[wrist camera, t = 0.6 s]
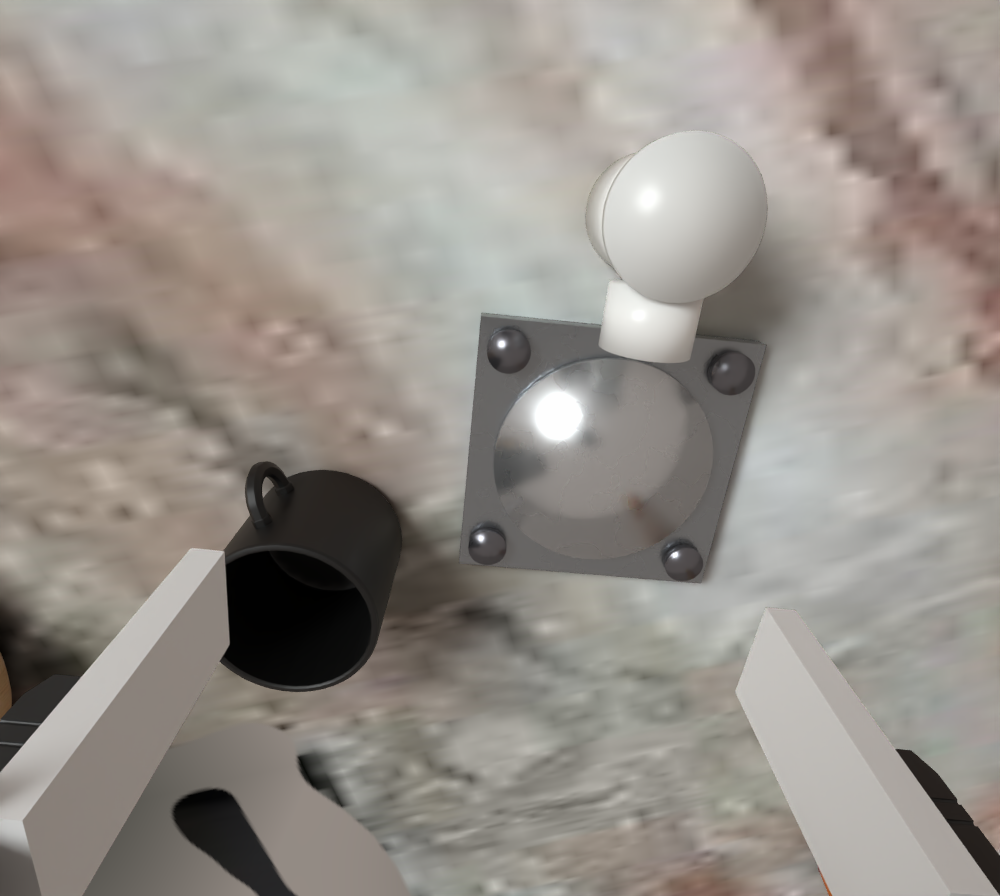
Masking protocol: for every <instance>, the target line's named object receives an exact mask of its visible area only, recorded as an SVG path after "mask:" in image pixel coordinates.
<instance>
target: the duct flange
mask: <svg viewBox="0 0 1000 896" xmlns="http://www.w3.org/2000/svg"><path fill="white" fill-rule="evenodd" d="M601 326H602V325H597V324H587V323H578V322H568V321H558V320H548V319H538V318H529V317H519V316H509V315H499V314H489V313H481V323H480V335H479V346H478V357H477V368H476V379H475V390H474V401H473V412H472V423H471V435H470V446H469V457H468V468H467V479H466V490H465V501H464V512H463V523H462V535H461V546H460V557H459V563H462V564H474V565H486V566H498V567H510V568H522V569H534V570H546V571H558V572H570V573H582V574H594V575H606V576H618V577H630V578H642V579H654V580H666V581H678V582H690V583H701V582H702V578H703V574H704V571H705V567H706V563H707V560H708V556H709V552H710V549H711V545H712V541H713V538H714V534H715V531H716V527H717V523H718V520H719V516H720V512H721V509H722V505H723V501H724V498H725V494H726V491H727V487H728V483H729V480H730V476H731V472H732V469H733V465H734V461H735V458H736V454H737V450H738V447H739V443H740V440H741V436H742V432H743V429H744V425H745V421H746V418H747V414H748V410H749V407H750V403H751V399H752V396H753V392H754V389H755V385H756V381H757V378H758V374H759V370H760V367H761V363H762V359H763V356H764V352H765V348H766V345H765V344H764V343H762V342H760V341H754V340H744V339H734V338H725V337H715V336H705V335H695V340H694V344H693V349H692V353H691V357H690V360H688V361H686V362H681V363H659V362H649V361H642V360H636V359H631V358H627V357H623V356H619V355H616V354H613V353H610V352H607V351H605V350H603V349H602V348H600V347H599V345H598V344H599V338H600V332H601Z"/></svg>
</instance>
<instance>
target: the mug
mask: <svg viewBox="0 0 1000 896" xmlns="http://www.w3.org/2000/svg"><path fill="white" fill-rule="evenodd" d="M265 477H268V478H269V479H270V480H271V481H272V483H273V484H274V487H273V488H272V489H271V490H270V491H269V492H268V493H267V494H266V495H265V497H264V498H263V497H262V484H263V481H264V478H265ZM245 496H246V503H247V507H248V510H249V513H250V516H249V518H248V519H247V520H246V522H245V523H244V524H243V525H242V527H241V528H240V529H239V531H238V532H237V533H236V535H235V536H234V537H233V539H232V540H231V541H230V543H229V544H228V545H227V547H226V548H225V549H224V552H225V570H226V587H227V605H228V623H229V641H230V645H229V646H228V648H227V650H226V651H225V653H224V655H223V656H222V658H221V660H220V662H221V663H222V664H223V665H224V666H226V667H227V668H228V669H230V670H231V671H232V672H234V673H235V674H237V675H239V676H240V677H242V678H244V679H246V680H248V681H250V682H253V683H255V684H258V685H260V686H264V687H267V688H270V689H276V690H281V691H291V692H306V691H315V690H320V689H325V688H328V687H331V686H334V685H336V684H338V683H341V682H343V681H345V680H346V679H348V678H349V677H351V676H352V675H354V674H355V673H356V672H357V671H358V670H359V669H360V668H361V667H362V666H363V665H365V663H366V662H367V660H368V659H369V658H370V656H371V654H372V653H373V650H374V648H375V646H376V644H377V640H378V636H379V633H380V629H381V625H382V621H383V617H384V614H385V610H386V606H387V602H388V598H389V595H390V591H391V587H392V583H393V579H394V576H395V572H396V568H397V564H398V561H399V557H400V552H401V547H402V534H401V528H400V524H399V521H398V518H397V516H396V514H395V512H394V510H393V509H392V507H391V505H390V504H389V503H388V501H387V500H386V499H385V498H384V497H383V496H382V495H381V494H380V493H379V492H378V491H377V490H376V489H375V488H374V487H372V486H371V485H369V484H368V483H366V482H364V481H363V480H361V479H359V478H357V477H354V476H352V475H349V474H346V473H342V472H337V471H329V470H316V471H307V472H303V473H298V474H295V475H293V476H290V477H288V478H287V477H286V476H285V474H284V473H283V471H282V470H281V469H280V468H279V467H278V466H277V465H275V464H274V463H271V462H259V463H257V464H255V465H253V466H252V468H251V470H250V472H249V474H248V477H247V480H246V485H245Z"/></svg>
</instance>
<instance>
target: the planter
mask: <svg viewBox="0 0 1000 896" xmlns="http://www.w3.org/2000/svg"><path fill="white" fill-rule="evenodd" d="M11 707H12V694H11V686H10V681H9V676H8V673H7V669H6V666H5V663H4V660H3V657H2V655H1V652H0V720H1V718H2V717H3V716H4V715H5V713H6V712H7V711H8V710H9V709H10V708H11Z"/></svg>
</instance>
